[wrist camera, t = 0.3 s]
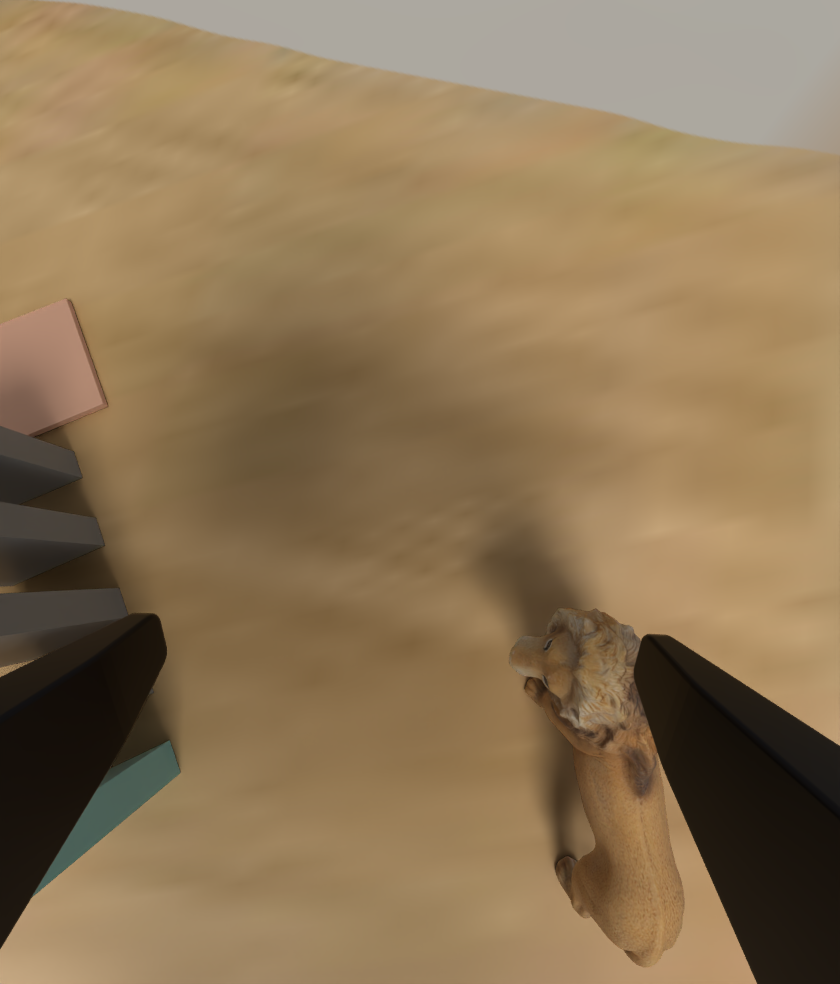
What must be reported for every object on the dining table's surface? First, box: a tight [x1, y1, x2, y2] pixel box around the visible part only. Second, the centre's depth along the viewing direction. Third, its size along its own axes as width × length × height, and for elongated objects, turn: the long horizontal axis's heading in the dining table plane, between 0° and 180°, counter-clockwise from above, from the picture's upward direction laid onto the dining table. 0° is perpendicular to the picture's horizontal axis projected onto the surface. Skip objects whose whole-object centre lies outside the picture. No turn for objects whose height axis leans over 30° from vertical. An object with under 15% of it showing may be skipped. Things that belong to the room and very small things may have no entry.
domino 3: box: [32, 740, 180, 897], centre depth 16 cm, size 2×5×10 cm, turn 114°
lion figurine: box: [509, 608, 684, 967], centre depth 17 cm, size 15×5×9 cm, turn 16°
